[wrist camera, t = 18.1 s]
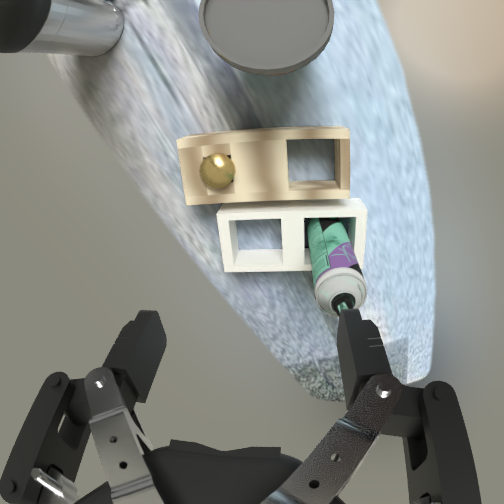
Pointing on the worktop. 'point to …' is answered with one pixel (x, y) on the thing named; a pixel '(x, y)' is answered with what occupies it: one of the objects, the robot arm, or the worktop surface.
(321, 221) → the spray can
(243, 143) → the socket block
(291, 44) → the reusable coffee cup
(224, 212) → the frame
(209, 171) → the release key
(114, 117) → the worktop surface
